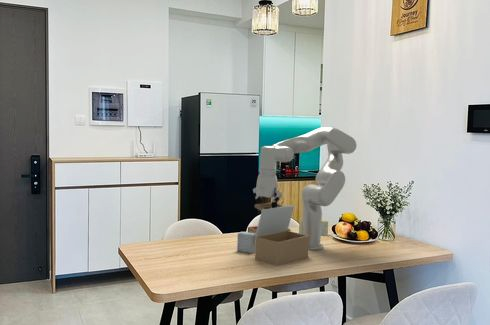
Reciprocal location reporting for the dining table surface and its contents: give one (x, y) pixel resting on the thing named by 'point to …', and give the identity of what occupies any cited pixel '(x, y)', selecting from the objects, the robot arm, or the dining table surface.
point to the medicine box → (246, 242)
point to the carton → (281, 247)
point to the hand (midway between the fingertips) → (266, 208)
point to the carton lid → (273, 218)
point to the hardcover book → (254, 229)
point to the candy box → (323, 227)
